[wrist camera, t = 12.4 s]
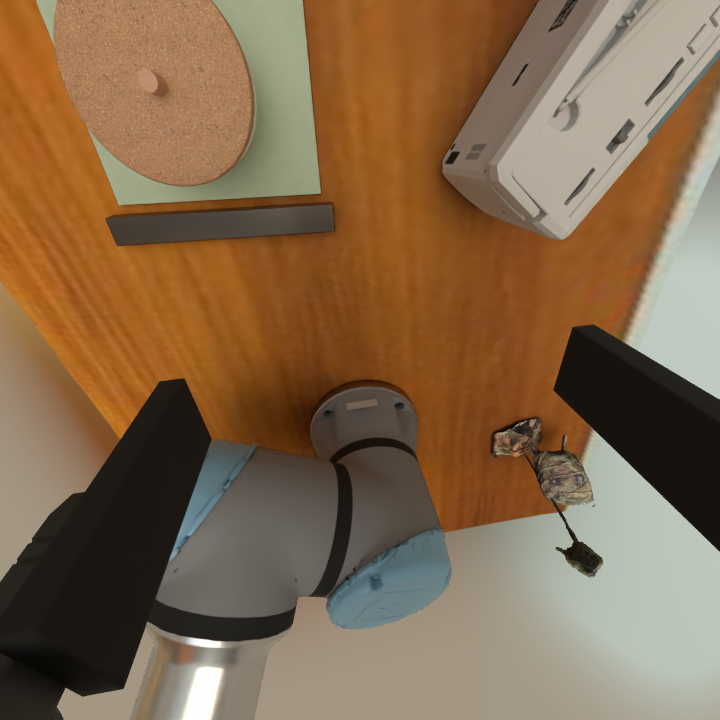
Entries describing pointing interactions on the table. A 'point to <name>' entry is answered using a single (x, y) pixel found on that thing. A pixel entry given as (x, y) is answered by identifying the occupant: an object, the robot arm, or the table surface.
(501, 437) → the plant with pod
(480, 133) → the radio
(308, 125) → the mat
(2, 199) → the table surface
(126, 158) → the trinket box
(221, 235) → the divider
